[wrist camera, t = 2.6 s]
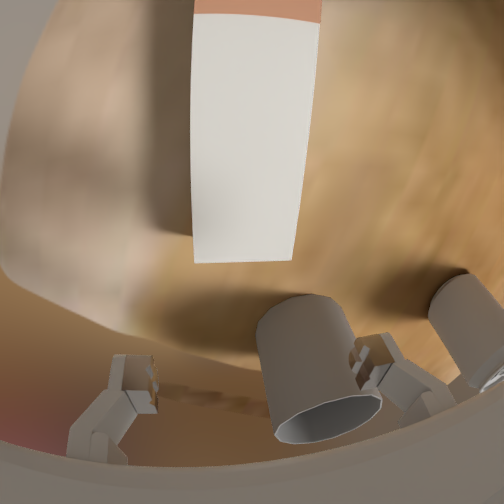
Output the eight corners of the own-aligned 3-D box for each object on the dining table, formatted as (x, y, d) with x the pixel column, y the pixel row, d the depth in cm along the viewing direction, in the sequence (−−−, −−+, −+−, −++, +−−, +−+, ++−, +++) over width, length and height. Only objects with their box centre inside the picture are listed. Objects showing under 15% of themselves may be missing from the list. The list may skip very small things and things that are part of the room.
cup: (303, 361, 31) (328, 444, 23) (238, 342, 28) (252, 441, 20) (359, 310, 28) (401, 397, 20) (294, 281, 24) (332, 388, 16)
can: (444, 267, 26) (511, 355, 17) (482, 269, 28) (541, 341, 18) (413, 321, 31) (462, 406, 21) (453, 316, 32) (500, 389, 22)
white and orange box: (304, 0, 13) (322, -11, 10) (281, 235, 22) (291, 261, 19) (198, -8, 12) (196, -22, 9) (195, 237, 21) (194, 264, 18)
